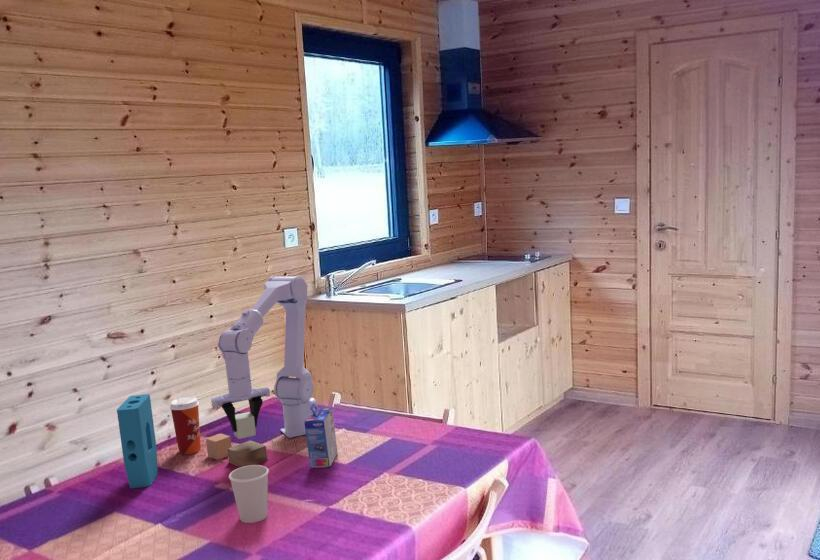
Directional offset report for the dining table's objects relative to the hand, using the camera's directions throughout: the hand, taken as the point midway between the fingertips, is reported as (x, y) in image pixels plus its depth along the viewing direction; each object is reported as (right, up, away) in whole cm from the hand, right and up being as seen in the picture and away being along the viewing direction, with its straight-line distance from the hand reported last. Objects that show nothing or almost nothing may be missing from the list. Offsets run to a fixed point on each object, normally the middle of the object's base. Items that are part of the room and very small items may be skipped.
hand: (244, 428), depth 195 cm
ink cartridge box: (+20, -8, -2) cm, 22 cm away
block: (-23, -12, -6) cm, 27 cm away
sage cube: (0, -2, 0) cm, 2 cm away
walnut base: (+1, -9, +1) cm, 9 cm away
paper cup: (-17, -9, +12) cm, 23 cm away
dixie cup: (+9, -13, -31) cm, 35 cm away
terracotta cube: (-8, -8, +7) cm, 14 cm away
